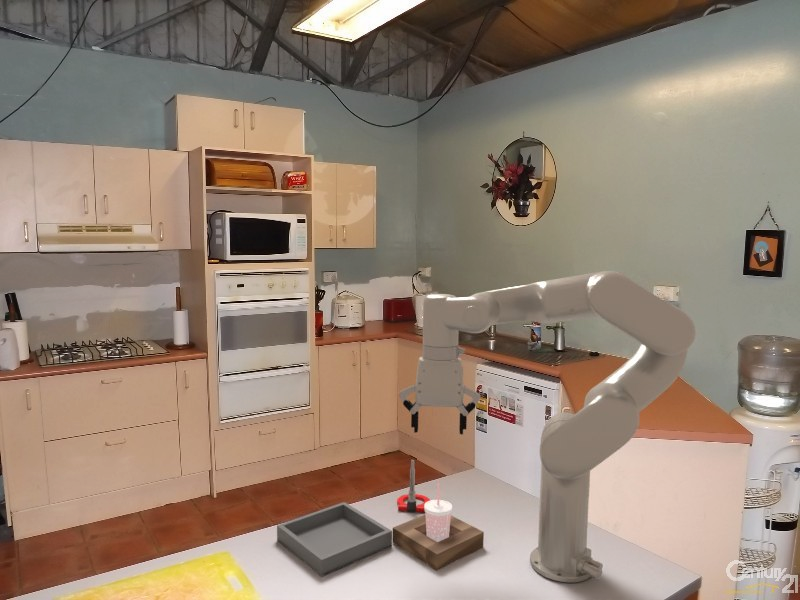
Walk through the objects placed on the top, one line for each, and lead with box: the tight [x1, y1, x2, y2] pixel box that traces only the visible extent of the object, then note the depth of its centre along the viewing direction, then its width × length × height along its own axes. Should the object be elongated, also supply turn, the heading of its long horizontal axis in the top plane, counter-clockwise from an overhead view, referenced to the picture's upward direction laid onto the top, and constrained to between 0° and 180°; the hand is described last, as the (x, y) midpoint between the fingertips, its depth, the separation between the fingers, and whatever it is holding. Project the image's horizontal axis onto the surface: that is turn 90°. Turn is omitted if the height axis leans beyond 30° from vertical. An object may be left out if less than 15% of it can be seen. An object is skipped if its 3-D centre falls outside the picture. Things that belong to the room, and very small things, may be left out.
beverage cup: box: [424, 482, 453, 542], centre depth 126 cm, size 6×6×14 cm
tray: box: [276, 501, 393, 578], centre depth 127 cm, size 18×18×4 cm
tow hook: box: [396, 459, 431, 514], centre depth 146 cm, size 8×13×9 cm
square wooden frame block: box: [392, 513, 484, 572], centre depth 126 cm, size 14×14×4 cm
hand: (438, 431), depth 124 cm, fingers open, 9 cm apart
